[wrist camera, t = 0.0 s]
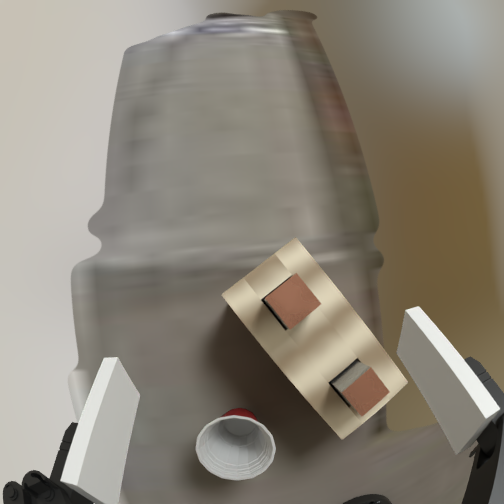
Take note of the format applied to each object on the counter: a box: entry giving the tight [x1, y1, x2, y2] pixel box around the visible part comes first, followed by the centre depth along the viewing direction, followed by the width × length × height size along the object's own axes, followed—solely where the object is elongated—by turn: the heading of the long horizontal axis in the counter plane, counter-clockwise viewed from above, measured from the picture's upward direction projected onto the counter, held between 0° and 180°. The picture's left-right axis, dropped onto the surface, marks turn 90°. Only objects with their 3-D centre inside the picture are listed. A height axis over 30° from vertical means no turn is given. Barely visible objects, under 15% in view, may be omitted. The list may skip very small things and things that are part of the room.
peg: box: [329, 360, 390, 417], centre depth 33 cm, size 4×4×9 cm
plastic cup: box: [196, 408, 276, 481], centre depth 38 cm, size 11×11×12 cm
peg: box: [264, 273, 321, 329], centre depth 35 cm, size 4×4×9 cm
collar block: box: [222, 237, 408, 440], centre depth 41 cm, size 26×12×12 cm, turn 38°
